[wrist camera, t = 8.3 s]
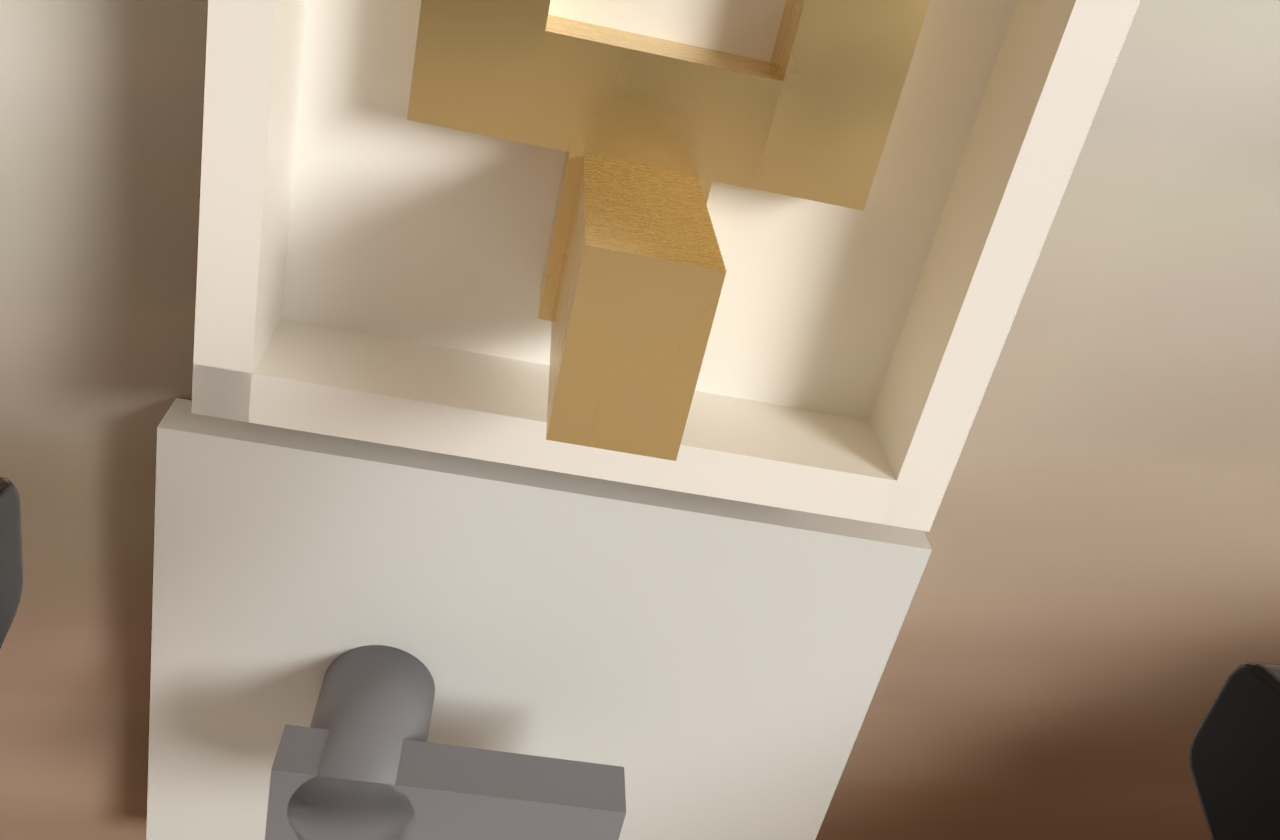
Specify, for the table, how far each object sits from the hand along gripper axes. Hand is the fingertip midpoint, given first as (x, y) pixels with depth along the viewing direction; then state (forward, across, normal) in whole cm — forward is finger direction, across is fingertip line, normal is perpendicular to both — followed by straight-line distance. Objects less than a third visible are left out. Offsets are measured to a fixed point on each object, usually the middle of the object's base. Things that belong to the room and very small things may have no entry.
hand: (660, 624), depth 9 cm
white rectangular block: (+11, 0, +10) cm, 15 cm away
